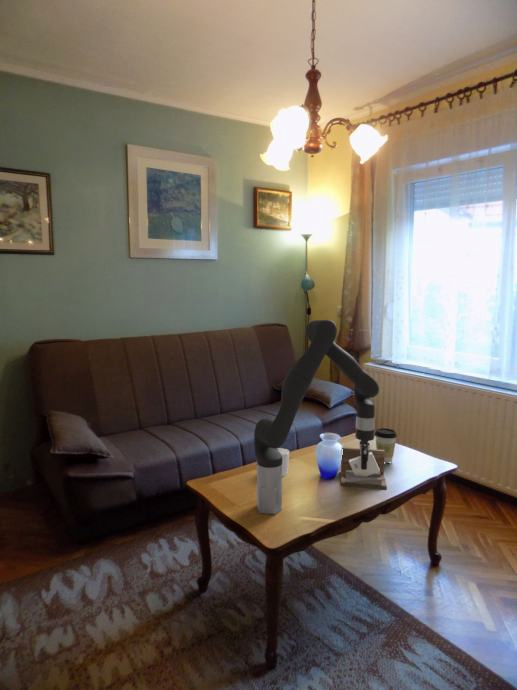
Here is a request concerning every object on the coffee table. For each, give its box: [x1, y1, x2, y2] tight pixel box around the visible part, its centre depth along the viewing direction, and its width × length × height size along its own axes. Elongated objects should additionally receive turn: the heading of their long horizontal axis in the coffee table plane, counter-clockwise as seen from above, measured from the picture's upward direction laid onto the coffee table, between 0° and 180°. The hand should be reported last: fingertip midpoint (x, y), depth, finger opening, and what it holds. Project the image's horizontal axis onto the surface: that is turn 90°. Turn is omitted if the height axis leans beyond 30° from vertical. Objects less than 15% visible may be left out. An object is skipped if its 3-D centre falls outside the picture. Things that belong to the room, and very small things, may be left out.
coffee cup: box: [374, 427, 398, 463], centre depth 206 cm, size 10×10×15 cm
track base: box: [340, 446, 388, 490], centre depth 187 cm, size 14×18×11 cm
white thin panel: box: [349, 452, 380, 477], centre depth 183 cm, size 2×10×8 cm, turn 80°
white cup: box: [277, 447, 290, 477], centre depth 193 cm, size 8×8×10 cm
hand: (363, 467), depth 183 cm, fingers closed on white thin panel, 2 cm apart
